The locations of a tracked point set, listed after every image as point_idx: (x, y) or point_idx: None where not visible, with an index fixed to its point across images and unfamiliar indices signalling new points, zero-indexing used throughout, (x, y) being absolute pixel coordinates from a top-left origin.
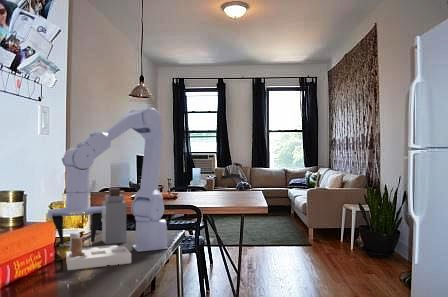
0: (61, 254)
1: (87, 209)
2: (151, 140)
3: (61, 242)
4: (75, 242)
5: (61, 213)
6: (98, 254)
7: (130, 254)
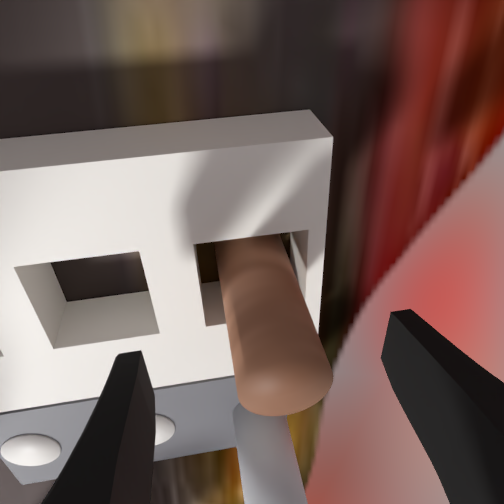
0: (312, 414)
1: None
2: None
3: (419, 320)
4: (293, 327)
5: None
6: (83, 254)
7: None
